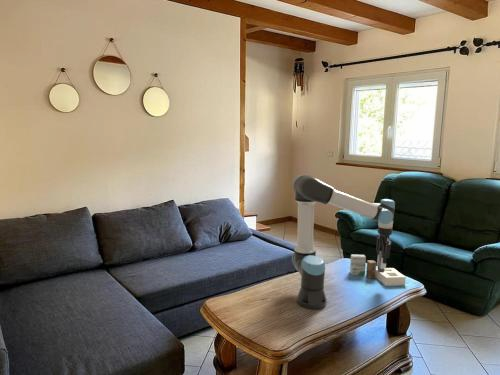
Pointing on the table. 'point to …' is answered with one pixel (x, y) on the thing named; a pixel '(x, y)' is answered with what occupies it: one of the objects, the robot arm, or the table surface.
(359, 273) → the ink box
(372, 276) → the walnut square bar
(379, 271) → the round peg
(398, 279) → the socket block
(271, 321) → the table surface
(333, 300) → the table surface
